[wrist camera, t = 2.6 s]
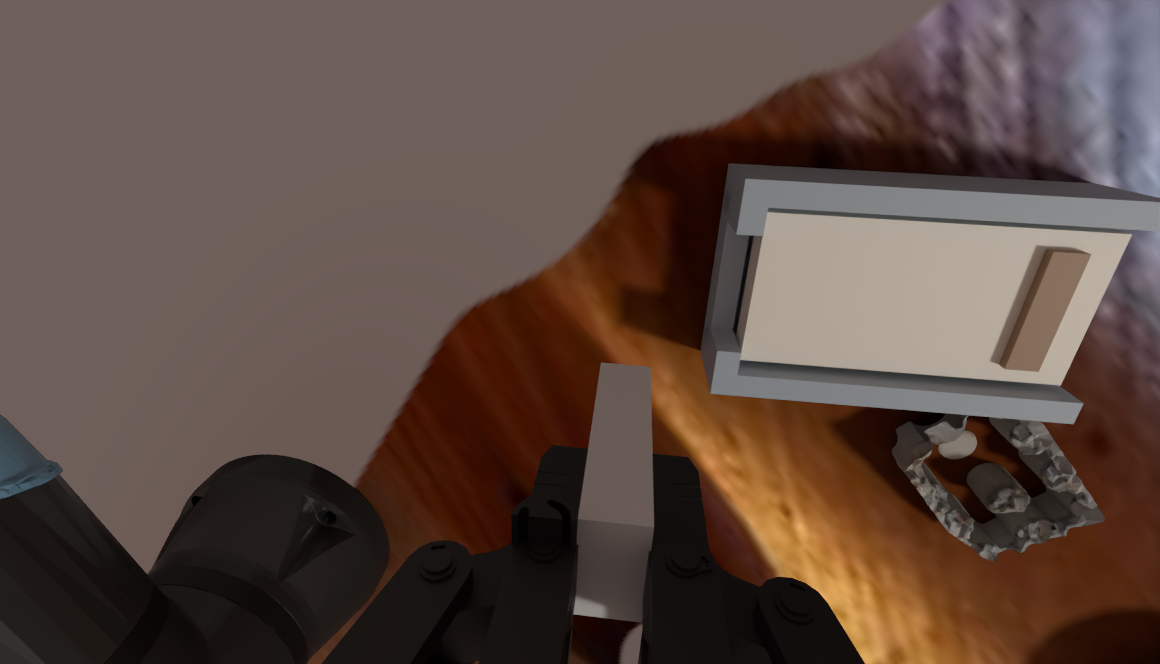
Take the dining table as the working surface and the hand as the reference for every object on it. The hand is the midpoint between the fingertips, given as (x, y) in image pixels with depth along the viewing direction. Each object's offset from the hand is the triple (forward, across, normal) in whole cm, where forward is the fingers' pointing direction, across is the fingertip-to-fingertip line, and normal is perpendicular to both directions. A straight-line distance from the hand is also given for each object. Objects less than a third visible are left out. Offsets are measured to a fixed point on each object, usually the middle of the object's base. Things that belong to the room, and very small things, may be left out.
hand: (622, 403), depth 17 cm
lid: (+14, +14, 0) cm, 20 cm away
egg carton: (+16, +22, -12) cm, 30 cm away
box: (+16, +14, 0) cm, 21 cm away
